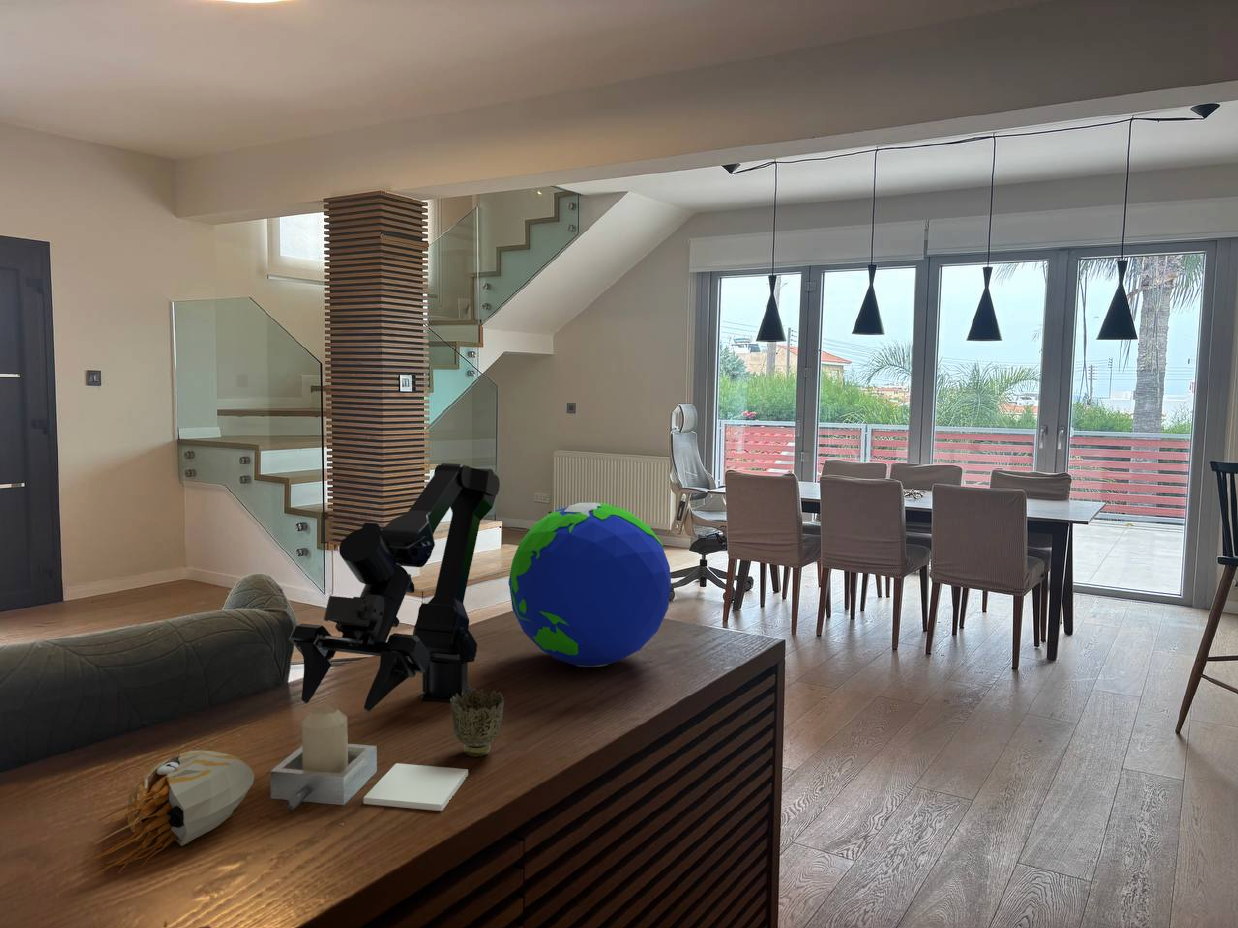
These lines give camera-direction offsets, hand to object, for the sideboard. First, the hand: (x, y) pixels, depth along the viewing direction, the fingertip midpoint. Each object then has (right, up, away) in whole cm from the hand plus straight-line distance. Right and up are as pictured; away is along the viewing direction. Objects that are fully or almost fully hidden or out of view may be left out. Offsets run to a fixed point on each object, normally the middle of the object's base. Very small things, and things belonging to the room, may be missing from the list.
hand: (334, 705), depth 116 cm
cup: (+17, -9, +9) cm, 21 cm away
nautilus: (-15, -11, -14) cm, 23 cm away
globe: (+31, -6, +49) cm, 59 cm away
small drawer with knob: (-1, -10, -3) cm, 10 cm away
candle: (-1, -10, -1) cm, 10 cm away
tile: (+11, -10, -2) cm, 15 cm away
